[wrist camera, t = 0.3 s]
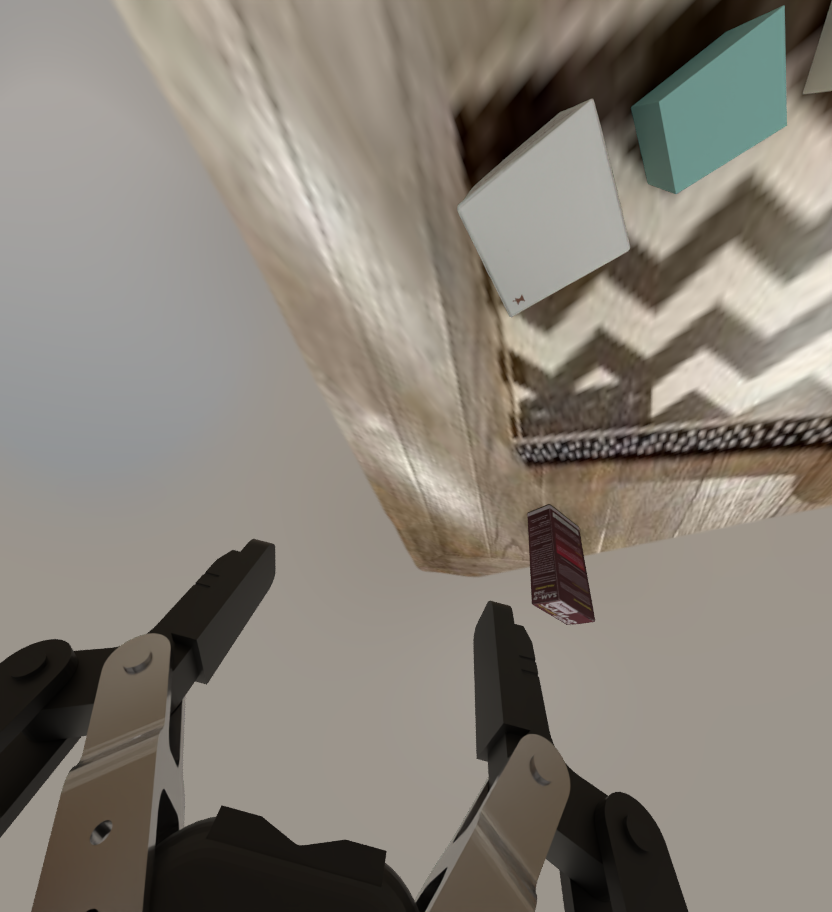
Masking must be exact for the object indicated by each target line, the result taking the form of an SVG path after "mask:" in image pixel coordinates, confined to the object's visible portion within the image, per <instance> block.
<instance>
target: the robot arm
mask: <svg viewBox="0 0 832 912" xmlns="http://www.w3.org/2000/svg"><path fill="white" fill-rule="evenodd" d="M274 576H275V545H274V544H272V543H268V542H264V541H260V540H256V539H252V540H251V541H250V542H248V544H247V545H246V546H245V547H244V548H243V549H242V551H241V552H238V551H235V550H232V551H230V552H228V553H227V554H225V555H224V556H222V557H220V558H219V559H217V560H216V561H215V562H214V563H213V564H212V565H211V567H210V568H209V569H208V570H207V571H206V573H205V574H204V575H202V576H201V578H200V579H199V580H198V581H197V582H196V584H195V585H193V586H192V587H191V588H190V589H189V590H188V592H187V593H186V594H185V595H184V596H183V597H182V598H181V599H180V600H179V601H178V602H177V604H176V605H175V606H174V607H173V608H172V609H171V610H170V611H169V612H168V613H167V614H166V615H165V617H164V618H163V619H162V620H161V621H160V622H159V623H158V624H157V625H156V626H155V627H154V628H153V629H152V630H151V631H150V632H148V633H147V634H144V635H140V636H138V637H135V638H133V639H131V640H129V641H127V642H125V643H124V644H123V645H121V646H119V647H114V648H104V649H93V650H80V651H73V650H72V648H71V646H70V645H69V643H67V642H65V641H63V640H58V639H51V640H45V641H41V642H37V643H34V644H31V645H29V646H27V647H25V648H23V649H21V650H19V651H17V652H15V653H14V654H12V655H11V656H9V657H8V658H6V659H5V660H4V661H3V662H1V663H0V837H1V836H2V835H3V834H4V832H5V831H6V830H7V829H8V827H9V826H10V825H11V824H12V822H13V821H14V820H15V819H16V817H17V816H18V815H19V814H20V812H21V811H22V810H23V809H24V807H25V806H26V805H27V804H28V803H29V801H30V800H31V799H32V798H33V796H34V795H35V794H36V793H37V791H38V790H39V788H41V786H42V785H43V784H44V783H45V781H46V780H47V779H48V778H49V776H50V775H51V774H52V772H53V771H54V770H55V769H56V768H57V766H58V765H59V764H60V762H61V761H62V760H63V759H64V758H65V756H66V755H67V754H68V753H69V751H70V750H71V749H72V748H73V746H74V745H75V744H76V743H77V741H78V740H79V739H80V738H81V736H87V737H86V741H85V745H84V750H83V753H82V757H81V759H80V761H79V763H78V764H77V765H76V766H74V767H73V768H72V769H71V770H70V772H69V773H68V775H67V777H66V780H65V783H64V785H63V789H62V792H61V796H60V800H59V804H58V808H57V812H56V815H55V819H54V824H53V827H52V831H51V836H50V839H49V843H48V847H47V851H46V855H45V859H44V863H43V867H42V871H41V875H40V879H39V883H38V887H37V891H36V895H35V899H34V903H33V907H32V911H31V912H535V909H536V904H537V895H536V884H537V880H538V877H539V875H540V872H541V869H542V867H543V864H544V861H545V859H547V860H548V861H549V862H551V863H552V864H553V865H554V866H556V867H557V868H558V869H559V870H560V878H561V885H562V894H563V901H564V909H565V912H688V909H687V906H686V903H685V900H684V897H683V894H682V891H681V888H680V885H679V882H678V879H677V876H676V873H675V870H674V867H673V864H672V861H671V858H670V855H669V852H668V849H667V846H666V843H665V840H664V838H663V836H662V833H661V831H660V829H659V827H658V826H657V824H656V822H655V821H654V819H653V818H652V816H651V815H650V814H649V812H648V811H647V810H646V809H645V808H644V807H643V806H642V805H641V804H640V803H639V802H638V801H637V800H636V799H634V798H633V797H631V796H630V795H628V794H625V793H622V792H615V793H612V794H610V795H609V796H608V795H606V794H605V793H603V792H602V791H600V790H599V789H597V788H596V787H594V786H593V785H592V784H590V783H589V782H587V781H586V780H584V779H583V778H581V777H580V776H579V775H577V774H576V773H575V772H573V771H572V770H571V769H570V768H569V767H568V766H567V764H566V763H565V762H564V760H563V758H562V756H561V755H560V753H559V752H558V750H557V749H556V748H555V746H554V744H553V741H552V739H551V735H550V731H549V726H548V721H547V716H546V711H545V706H544V701H543V696H542V691H541V685H540V680H539V677H538V670H537V665H536V663H535V655H534V650H533V645H532V641H531V640H530V638H529V636H528V634H527V632H526V630H525V628H524V627H523V626H521V625H517V624H514V618H513V612H512V608H511V607H510V606H508V605H504V604H501V603H497V602H493V601H489V602H488V603H487V605H486V607H485V609H484V611H483V613H482V615H481V617H480V619H479V621H478V623H477V625H476V628H475V633H474V678H475V715H476V749H477V750H476V751H477V759H480V760H484V761H487V762H488V773H489V777H488V779H487V780H486V782H485V784H484V786H483V787H482V789H481V791H480V793H479V794H478V796H477V798H476V799H475V801H474V803H473V804H472V806H471V808H470V810H469V811H468V813H467V815H466V816H465V818H464V820H463V822H462V823H461V825H460V827H459V829H458V830H457V832H456V834H455V835H454V837H453V839H452V841H451V842H450V844H449V845H448V847H447V849H446V850H445V852H444V853H443V854H442V856H441V857H440V859H439V860H438V862H437V863H436V865H435V867H434V868H433V870H432V871H431V873H430V875H429V876H428V878H427V880H426V882H425V883H424V885H423V887H422V888H421V890H420V892H419V894H418V895H417V897H416V899H415V900H414V899H413V898H412V896H411V893H410V891H409V890H408V888H407V887H406V885H405V884H404V882H403V881H402V879H401V878H400V877H399V876H398V875H397V873H396V872H395V871H394V870H393V869H392V868H391V867H390V866H388V865H387V864H386V863H385V858H386V851H385V850H381V849H378V848H374V847H370V846H367V845H363V844H359V843H356V842H352V841H349V840H340V841H332V842H325V843H318V844H310V845H297V844H295V843H294V842H292V841H291V840H290V839H289V838H287V837H286V836H285V835H284V834H283V833H281V832H280V831H279V830H278V829H277V828H275V827H274V826H273V825H272V824H270V823H269V822H268V821H267V820H265V819H264V818H263V817H262V816H258V815H255V814H251V813H247V812H244V811H240V810H237V809H233V808H229V807H226V806H221V808H220V810H219V812H218V814H217V816H216V817H212V818H208V819H204V820H200V821H198V822H195V823H193V824H191V825H188V826H186V827H184V810H185V794H184V781H183V744H184V719H185V718H184V717H185V695H186V693H187V692H188V691H189V689H190V688H191V686H192V685H193V683H194V682H195V681H196V682H200V683H204V684H207V683H208V682H209V680H210V679H211V677H212V676H213V674H214V673H215V671H216V670H217V668H218V667H219V665H220V664H221V662H222V660H223V659H224V657H225V656H226V654H227V653H228V651H229V650H230V648H231V647H232V645H233V644H234V642H235V641H236V639H237V637H238V636H239V634H240V633H241V631H242V630H243V628H244V627H245V625H246V624H247V622H248V621H249V619H250V617H251V616H252V615H253V613H254V612H255V610H256V608H257V607H258V605H259V604H260V602H261V601H262V599H263V598H264V596H265V595H266V593H267V592H268V590H269V588H270V587H271V584H272V582H273V580H274Z"/></svg>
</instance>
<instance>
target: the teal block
mask: <svg viewBox="0 0 832 912" xmlns="http://www.w3.org/2000/svg"><path fill="white" fill-rule="evenodd" d="M631 110H632V115H633V119H634V124H635V128H636V133H637V137H638V142H639V146H640V151H641V155H642V160H643V164H644V169H645V173H646V178H647V182H648V184H650V185H652V186H655V187H658V188H660V189H663V190H666V191H669V192H671V193H674V194H677V193H679V192H680V191H682V190H684V189H685V188H687V187H688V186H690V185H692V184H693V183H695V182H697V181H698V180H700V179H701V178H703V177H705V176H706V175H708V174H709V173H711V172H713V171H714V170H716V169H717V168H719V167H721V166H722V165H724V164H726V163H727V162H729V161H730V160H732V159H734V158H735V157H737V156H738V155H740V154H742V153H743V152H745V151H746V150H748V149H750V148H751V147H753V146H755V145H756V144H758V143H759V142H761V141H763V140H764V139H766V138H767V137H769V136H771V135H772V134H774V133H775V132H777V131H779V130H780V129H782V128H784V127H785V126H787V109H786V58H785V7H784V6H781V7H779V8H777V9H775V10H773V11H771V12H768V13H766V14H764V15H762V16H760V17H757V18H755V19H753V20H751V21H749V22H747V23H744V24H742V25H740V26H738V27H736V28H734V29H731V30H729V31H727V32H725V33H724V34H723V35H721V36H720V37H719V38H718V39H716V40H715V41H714V42H713V43H711V44H710V45H709V46H708V47H706V48H705V49H704V50H703V51H701V52H700V53H699V54H698V55H696V56H695V57H694V58H692V59H691V60H690V61H689V62H687V63H686V64H685V65H684V66H682V67H681V68H680V69H679V70H677V71H676V72H675V73H674V74H672V75H671V76H670V77H669V78H667V79H666V80H665V81H664V82H662V83H661V84H660V85H658V86H657V87H656V88H655V89H653V90H652V91H651V92H650V93H648V94H647V95H646V96H645V97H643V98H642V99H641V100H640V101H638V102H637V103H636V104H635V105H633V106H632V107H631Z"/></svg>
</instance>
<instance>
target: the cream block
mask: <svg viewBox="0 0 832 912" xmlns="http://www.w3.org/2000/svg"><path fill="white" fill-rule="evenodd" d="M826 91H832V2H831V5H830V8H829V11H828V14H827V18H826V21H825V24H824V27H823V30H822V33H821V37H820V40H819V43H818V46H817V49H816V52H815V56H814V59H813V62H812V65H811V68H810V72H809V75H808V78H807V81H806V84H805V87H804V91H803V94H810V93H818V92H826Z"/></svg>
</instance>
